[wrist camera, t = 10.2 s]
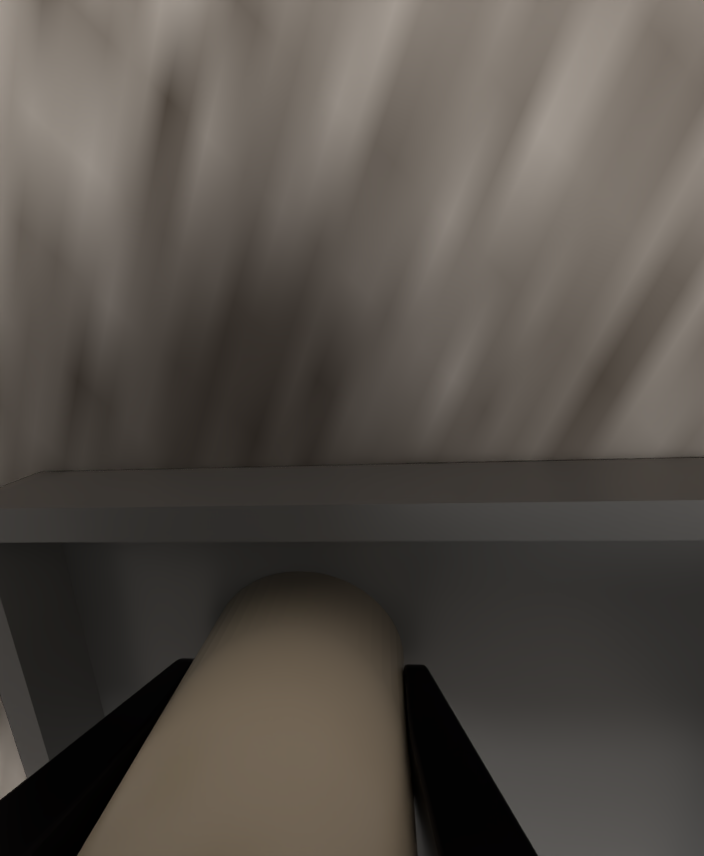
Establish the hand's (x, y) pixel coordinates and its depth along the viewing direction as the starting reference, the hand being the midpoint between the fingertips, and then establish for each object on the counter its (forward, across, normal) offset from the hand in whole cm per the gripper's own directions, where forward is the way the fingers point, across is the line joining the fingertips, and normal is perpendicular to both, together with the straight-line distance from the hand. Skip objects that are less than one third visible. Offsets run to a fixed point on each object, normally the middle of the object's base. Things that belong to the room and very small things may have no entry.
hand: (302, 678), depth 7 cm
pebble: (0, 0, 0) cm, 0 cm away
